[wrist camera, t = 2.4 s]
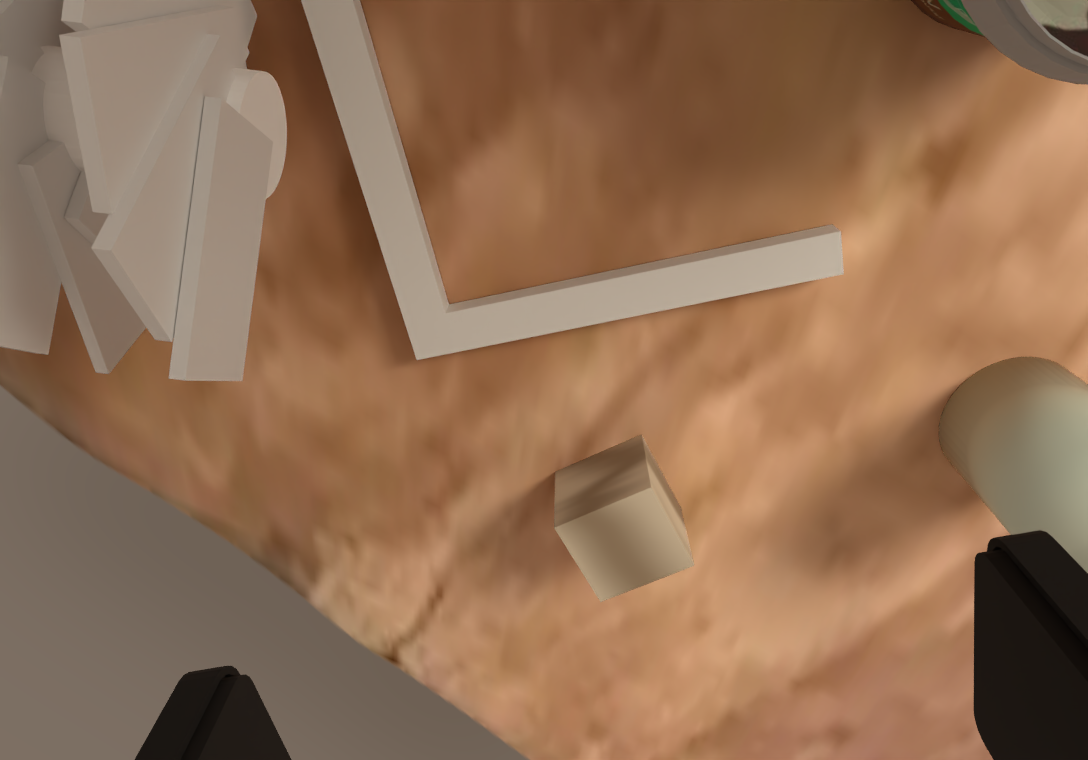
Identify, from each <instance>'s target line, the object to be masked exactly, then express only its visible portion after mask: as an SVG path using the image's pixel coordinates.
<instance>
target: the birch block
mask: <svg viewBox="0 0 1088 760" xmlns="http://www.w3.org/2000/svg"><path fill="white" fill-rule="evenodd" d="M554 528H555V530H556V532H557V533H558V535H559V536H560V538H561V540H562V541H563V543H564V544H565V546H566V548H567V549H568V551H569V552H570V554H571V556H572V557H573V559H574V560H575V562H576V564H577V565H578V567H579V568H580V570H581V571H582V573H583V575H584V576H585V578H586V579H587V581H588V583H589V584H590V586H591V587H592V589H593V591H594V592H595V594H596V595H597V597H598V599H599V600H600V602H602V601H605V600H607V599H610V598H612V597H615V596H618V595H620V594H623V593H625V592H628V591H630V590H633V589H636V588H638V587H641V586H643V585H646V584H648V583H651V582H654V581H656V580H659V579H661V578H664V577H666V576H669V575H672V574H674V573H677V572H679V571H682V570H684V569H687V568H689V567H692V566H694V562H693V558H692V553H691V549H690V545H689V540H688V536H687V532H686V528H685V523H684V519H683V515H682V510H681V506H680V505H679V503H678V501H677V499H676V497H675V495H674V493H673V492H672V490H671V488H670V486H669V484H668V482H667V481H666V479H665V477H664V475H663V473H662V471H661V469H660V468H659V466H658V464H657V462H656V460H655V458H654V456H653V455H652V453H651V451H650V449H649V447H648V445H647V443H646V442H645V440H644V438H643V436H642V434H641V435H639V436H637V437H634V438H632V439H630V440H627V441H625V442H623V443H621V444H618V445H616V446H614V447H611V448H609V449H607V450H604V451H602V452H600V453H598V454H595V455H593V456H591V457H588V458H586V459H584V460H582V461H579V462H577V463H575V464H572V465H570V466H568V467H565V468H563V469H561V470H559V471H556V472H555V507H554Z"/></svg>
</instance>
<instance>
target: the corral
mask: <svg viewBox="0 0 1088 760" xmlns="http://www.w3.org/2000/svg"><path fill="white" fill-rule="evenodd" d="M301 2H302V5H303V8H304V11H305V14H306V17H307V20H308V23H309V26H310V30H311V33H312V36H313V39H314V42H315V45H316V48H317V51H318V54H319V58H320V61H321V64H322V67H323V70H324V73H325V76H326V79H327V82H328V86H329V89H330V92H331V95H332V98H333V101H334V104H335V107H336V111H337V114H338V117H339V120H340V123H341V126H342V129H343V132H344V135H345V139H346V142H347V145H348V148H349V151H350V154H351V157H352V160H353V163H354V167H355V170H356V173H357V176H358V179H359V182H360V185H361V188H362V191H363V195H364V198H365V201H366V204H367V207H368V210H369V213H370V216H371V219H372V223H373V226H374V229H375V232H376V235H377V238H378V241H379V244H380V247H381V251H382V254H383V257H384V260H385V263H386V266H387V269H388V272H389V275H390V279H391V282H392V285H393V288H394V291H395V294H396V297H397V300H398V303H399V307H400V310H401V313H402V316H403V319H404V322H405V325H406V328H407V331H408V335H409V338H410V341H411V344H412V347H413V350H414V353H415V356H416V359H417V360H420V359H425V358H430V357H435V356H440V355H445V354H450V353H455V352H460V351H465V350H470V349H475V348H480V347H485V346H490V345H495V344H500V343H505V342H510V341H514V340H519V339H524V338H529V337H534V336H539V335H544V334H549V333H554V332H559V331H564V330H569V329H574V328H579V327H584V326H589V325H594V324H599V323H604V322H609V321H614V320H619V319H624V318H629V317H634V316H639V315H644V314H649V313H654V312H658V311H663V310H668V309H673V308H678V307H683V306H688V305H693V304H698V303H703V302H708V301H713V300H718V299H723V298H728V297H733V296H738V295H743V294H748V293H753V292H758V291H763V290H768V289H773V288H778V287H783V286H788V285H793V284H798V283H802V282H807V281H812V280H817V279H822V278H827V277H832V276H837V275H842V274H844V271H843V256H842V241H841V231H840V230H839V229H837V228H836V227H835V226H834V225H833V224H832V225H827V226H822V227H818V228H813V229H808V230H803V231H798V232H794V233H789V234H784V235H779V236H774V237H770V238H765V239H760V240H755V241H751V242H746V243H741V244H736V245H731V246H727V247H722V248H717V249H712V250H707V251H703V252H698V253H693V254H688V255H683V256H679V257H674V258H669V259H664V260H660V261H655V262H650V263H645V264H640V265H636V266H631V267H626V268H621V269H616V270H612V271H607V272H602V273H597V274H592V275H588V276H583V277H578V278H573V279H569V280H564V281H559V282H554V283H549V284H545V285H540V286H535V287H530V288H525V289H521V290H516V291H511V292H506V293H501V294H497V295H492V296H487V297H482V298H478V299H473V300H468V301H463V302H458V303H454V304H449V303H448V299H447V296H446V293H445V289H444V286H443V282H442V279H441V275H440V272H439V269H438V265H437V262H436V258H435V255H434V252H433V248H432V245H431V241H430V238H429V234H428V231H427V228H426V224H425V221H424V217H423V214H422V211H421V207H420V204H419V200H418V197H417V193H416V190H415V187H414V183H413V180H412V176H411V173H410V170H409V166H408V163H407V159H406V156H405V153H404V149H403V146H402V142H401V139H400V135H399V132H398V129H397V125H396V122H395V118H394V115H393V112H392V108H391V105H390V101H389V98H388V94H387V91H386V88H385V84H384V81H383V77H382V74H381V71H380V67H379V64H378V60H377V57H376V53H375V50H374V47H373V43H372V40H371V36H370V33H369V30H368V26H367V23H366V19H365V16H364V12H363V9H362V6H361V2H360V0H301Z"/></svg>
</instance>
